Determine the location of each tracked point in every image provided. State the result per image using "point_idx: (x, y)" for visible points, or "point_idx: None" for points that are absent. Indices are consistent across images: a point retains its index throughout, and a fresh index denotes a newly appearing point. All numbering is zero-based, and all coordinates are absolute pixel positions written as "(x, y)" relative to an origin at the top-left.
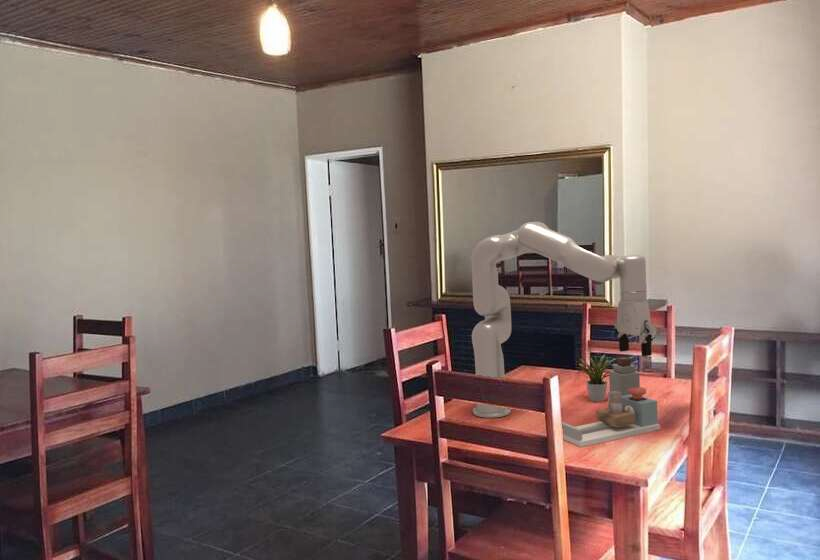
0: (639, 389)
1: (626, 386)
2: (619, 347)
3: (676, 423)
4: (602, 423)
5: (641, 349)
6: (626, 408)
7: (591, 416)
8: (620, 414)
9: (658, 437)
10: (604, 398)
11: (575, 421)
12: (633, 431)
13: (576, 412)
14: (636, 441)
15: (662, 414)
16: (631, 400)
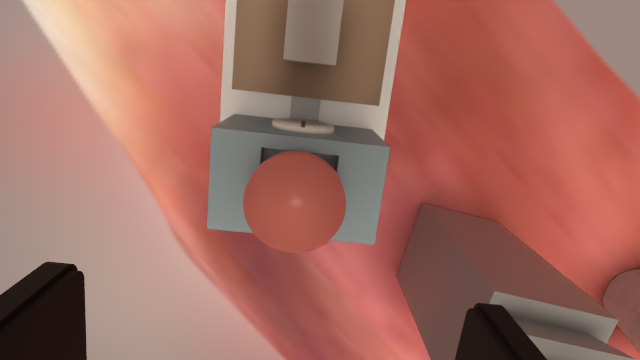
0: (278, 208)
1: (453, 284)
2: (521, 331)
3: (237, 282)
4: None
5: (26, 316)
6: (320, 127)
7: (509, 116)
8: (265, 23)
9: (156, 109)
10: (608, 310)
11: (514, 9)
12: (224, 52)
13: (591, 110)
14: (167, 3)
15: (340, 325)
16: (293, 142)
